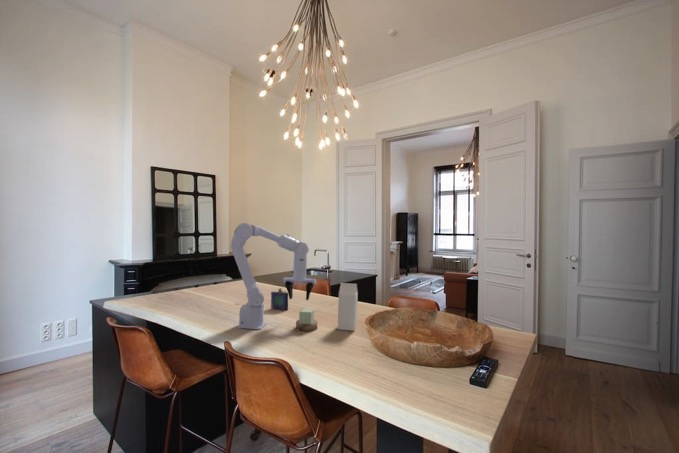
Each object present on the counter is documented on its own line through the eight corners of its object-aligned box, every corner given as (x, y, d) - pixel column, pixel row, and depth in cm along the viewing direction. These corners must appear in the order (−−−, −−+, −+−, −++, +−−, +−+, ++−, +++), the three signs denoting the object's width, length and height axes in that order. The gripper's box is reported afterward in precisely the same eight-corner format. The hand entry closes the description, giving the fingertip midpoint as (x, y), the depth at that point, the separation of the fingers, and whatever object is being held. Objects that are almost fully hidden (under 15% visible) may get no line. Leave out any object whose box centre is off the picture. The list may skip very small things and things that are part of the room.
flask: (269, 309, 157) (270, 288, 157) (272, 307, 160) (273, 287, 160) (286, 311, 155) (287, 289, 155) (289, 309, 158) (289, 288, 158)
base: (293, 330, 127) (293, 324, 127) (299, 323, 136) (299, 317, 136) (314, 332, 126) (314, 326, 126) (319, 325, 135) (319, 319, 135)
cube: (299, 323, 128) (299, 311, 128) (302, 319, 133) (302, 308, 133) (310, 324, 128) (311, 312, 128) (313, 320, 133) (313, 309, 133)
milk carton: (354, 331, 128) (355, 285, 128) (337, 329, 130) (338, 284, 130) (356, 325, 135) (358, 282, 135) (341, 324, 137) (342, 281, 137)
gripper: (281, 269, 135) (280, 300, 135) (313, 270, 132) (312, 302, 133) (286, 267, 142) (285, 296, 142) (317, 268, 139) (316, 298, 140)
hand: (299, 299), depth 138 cm, fingers open, 7 cm apart
